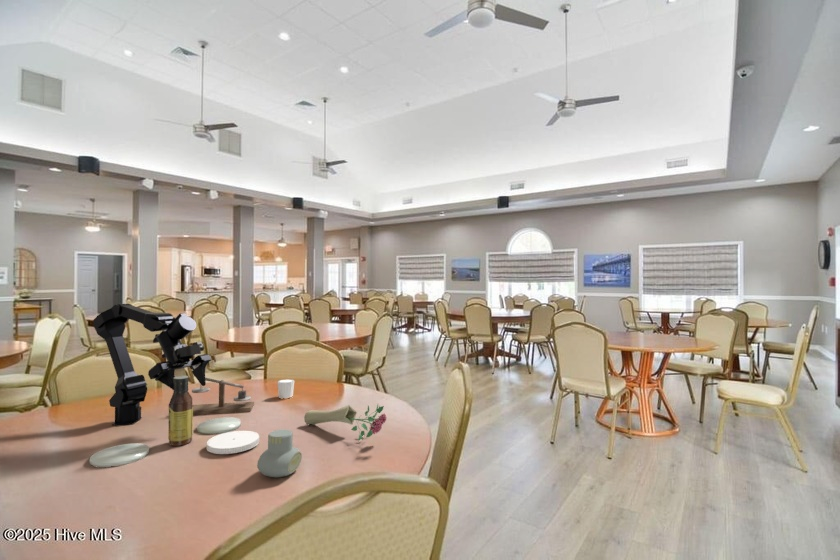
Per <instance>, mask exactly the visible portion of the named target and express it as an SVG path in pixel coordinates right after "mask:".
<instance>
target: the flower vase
mask: <svg viewBox="0 0 840 560" xmlns="http://www.w3.org/2000/svg"><path fill="white" fill-rule="evenodd" d="M383 410H384V405H382V406H381V405H379V404H377V405H376V409H375V411H374V412H372V413H371V414H369V415H368V413H370V406H369V405H367V410H366V411H365V412H364V415H365V416H366V417H365V418H360V417H361V416H359V418H356V415H357V413H358V411H357V410H355V408H353V407H352V406H351V405H349V404H348V405H345V406H343V407H340V408H337V409H335V410H316V409H315V410H314V409H313V410H312V409H310V410H307V411H306V412H305V413H304V417H303V418H304V419H303V420H304V422H305V424H306V425H308V424H312V425H316V424H323V423H329V422H330V423H333V422H335V423H336V422H338V423H344V424H349V425H353V424H354V421H357V422H356V423H357V425H355V426H353V427H352V428H351V430H352V431H353V432H355V431H358V430H360V431H358V432H359V435H358V441H359V440H360V439H362V440H363V439H364V438H363V437H362V436H363V435H364V436H366V437H365V438H370V437H371V436H373V435H376V434H377V433H380V431H381V430H382V427H383V425H384V424H385V423H386V422H387V416H386V414H385V413H381V412H382V411H383ZM373 413H374V415H373V416H371V415H372V414H373ZM380 413H381V415H378V414H380ZM377 415H378V418H375V417H376V416H377ZM359 422H364V423H361V427H362V428H363V429H364V430H361V429H360V427H359V426H360V425H359ZM366 423H367V424H369V430H368V426H367V425H366ZM365 431H368V432H367V434H366V433H365ZM365 434H366V435H365Z"/></svg>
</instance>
